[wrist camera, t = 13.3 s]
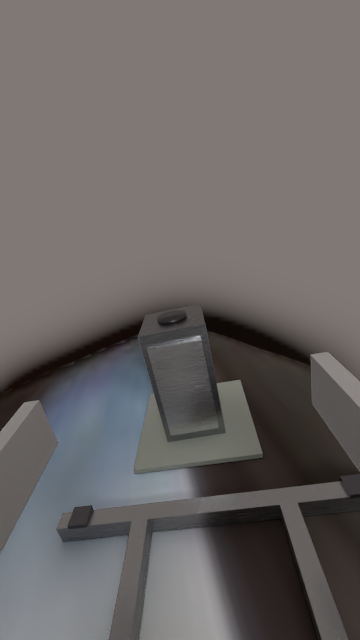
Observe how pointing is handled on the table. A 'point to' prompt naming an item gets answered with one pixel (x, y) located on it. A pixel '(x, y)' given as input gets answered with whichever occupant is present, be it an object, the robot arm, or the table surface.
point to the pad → (201, 450)
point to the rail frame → (212, 512)
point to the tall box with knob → (182, 373)
